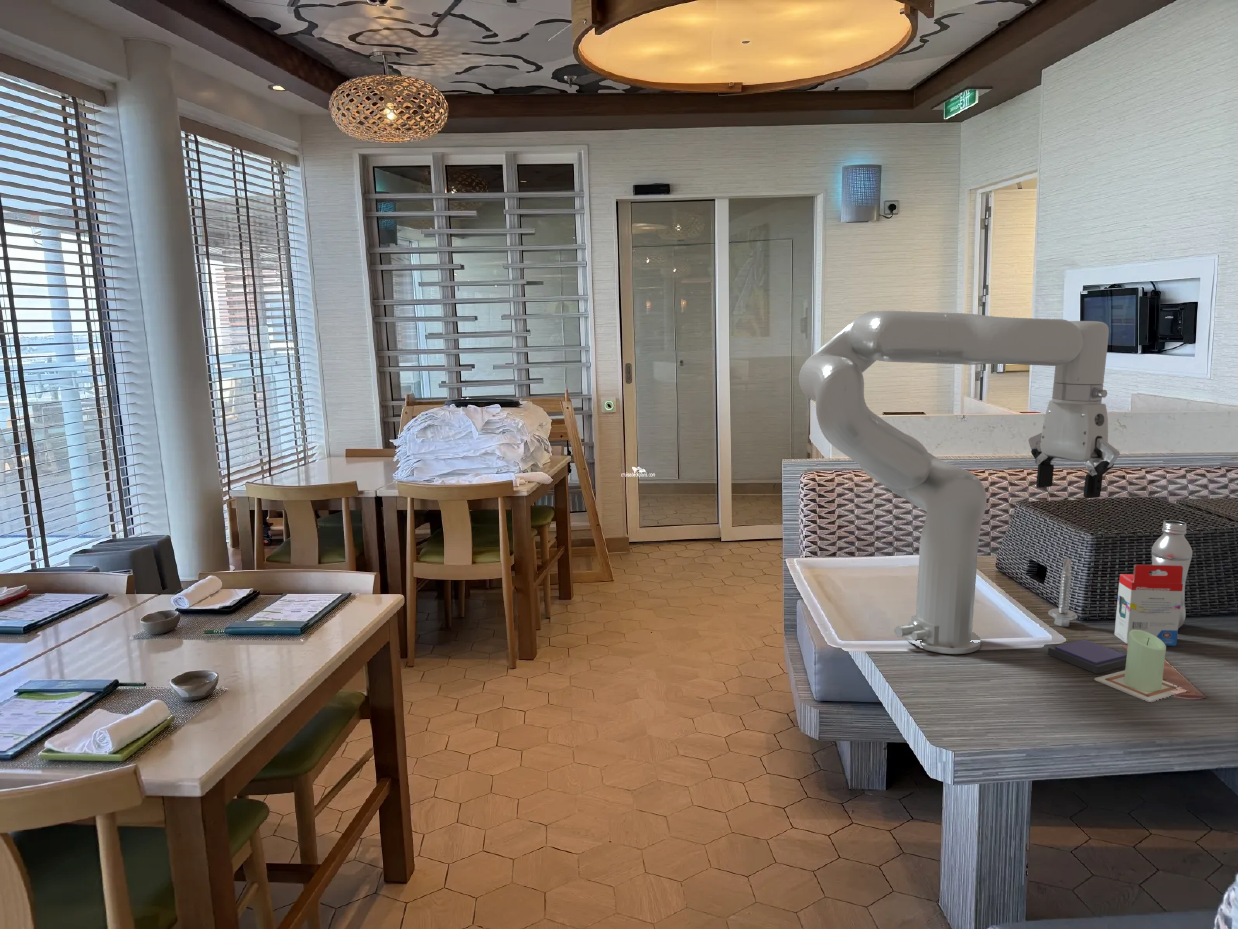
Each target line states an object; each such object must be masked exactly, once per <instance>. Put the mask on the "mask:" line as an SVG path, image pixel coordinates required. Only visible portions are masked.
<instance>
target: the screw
mask: <svg viewBox="0 0 1238 929" xmlns="http://www.w3.org/2000/svg"><path fill="white" fill-rule="evenodd" d="M1071 569H1072V559H1070V558H1069V557H1067V558H1064V559H1063V563H1062V571H1061V572H1060V576H1061V577H1060V578H1059V579H1060V581H1059V582H1060V583H1059V585H1060V586H1059V588H1060V589H1059V590H1058V591H1059V593H1058V594H1059V596H1058V597H1059V598H1058V601H1059V602H1057V603H1058V605H1057V606H1058V608H1057V607H1056V608H1051V609H1050V610H1048V611H1047V612H1048V615H1049V616H1051V617H1052V618H1053V619H1054V622H1053V624H1054V625H1056V626H1059V627H1069V626H1070V622H1071V621H1072V620H1076V619H1077V618H1078V614H1077V613H1076V612H1075V611H1072V610H1070V608H1069V607H1070V600H1071V599H1070V597H1071V596H1070V594H1071V588H1072V587H1071V585H1072V583H1071V582H1072V580H1071V579H1072V578H1073V577H1072V575H1073V574H1072V572H1073V571H1072V570H1071Z"/></svg>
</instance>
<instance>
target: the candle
mask: <svg viewBox="0 0 1238 929" xmlns="http://www.w3.org/2000/svg"><path fill="white" fill-rule="evenodd" d="M1126 649H1127V650H1126V655H1127V658H1126V666H1125V669H1124V670H1125V677H1124V682H1125V683H1126V684H1127V685H1128V686H1130V687H1132V688H1135V689H1138V690H1143V691H1158V690H1160V689H1161V688H1162V680H1164V679H1163V676H1164V670H1165V668H1164V667H1165V661H1166V650H1167V646H1166V645H1165V644H1164V643H1163V641H1161V640H1160V639H1159V638H1157V637H1156V636H1154V635H1152V634H1150V633H1148V632H1145V631H1141V630H1131V631H1130V632H1129V639H1128V644H1127V648H1126Z"/></svg>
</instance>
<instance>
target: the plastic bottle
mask: <svg viewBox="0 0 1238 929" xmlns="http://www.w3.org/2000/svg"><path fill="white" fill-rule="evenodd" d="M1161 531H1162V533H1163V534H1161V536H1160V537H1158V538H1157V539H1156V541H1155V542H1154V543H1153V545H1152V547H1151V562H1152V563H1151V565H1175V566H1182V567H1183V574H1182V583H1183V589H1182V597H1181V606H1180V616H1179V625H1178V629H1179V628H1181V627H1182V626H1183V625H1184V623H1185V620H1186V618H1187V616H1186V614H1187V613H1186V604H1185V596H1186V595H1185V592H1186V581H1187V577H1188V571H1189V569H1190V565H1191V561H1192V558H1193V553H1194V552H1193V549H1192V548H1193V547H1191V545H1190V543H1189V541H1188V540H1187V538H1186V537H1185V535H1186V534H1187V522H1183V521H1179V520H1172V519H1171V520H1164V521H1163V523H1162V528H1161ZM1166 574H1167V572H1165V571H1160V570H1156V571H1151V575H1166Z"/></svg>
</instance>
